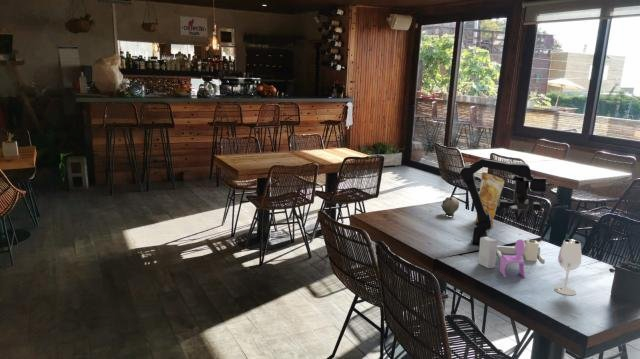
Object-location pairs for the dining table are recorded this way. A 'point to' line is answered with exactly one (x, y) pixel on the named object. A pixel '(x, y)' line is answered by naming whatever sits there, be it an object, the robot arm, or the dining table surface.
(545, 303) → the dining table surface
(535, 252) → the cream rectangular block
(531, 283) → the dining table surface
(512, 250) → the white post rack
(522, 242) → the toy chair
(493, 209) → the pancake mix bag
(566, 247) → the wineglass
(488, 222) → the robot arm
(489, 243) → the skincare box
